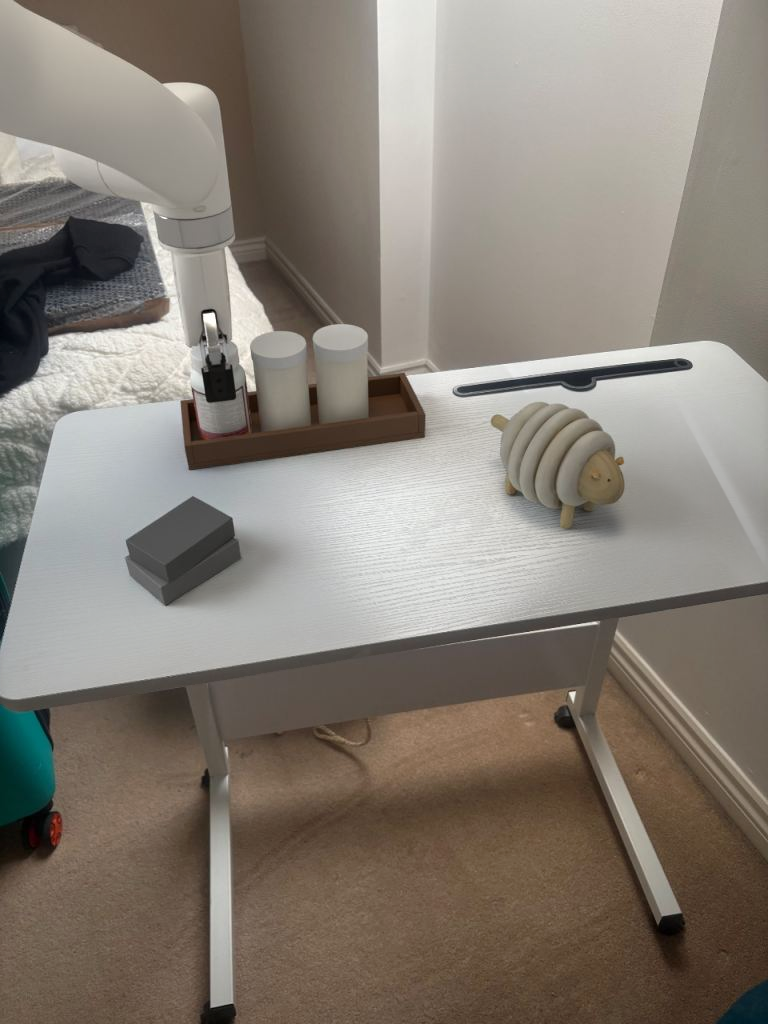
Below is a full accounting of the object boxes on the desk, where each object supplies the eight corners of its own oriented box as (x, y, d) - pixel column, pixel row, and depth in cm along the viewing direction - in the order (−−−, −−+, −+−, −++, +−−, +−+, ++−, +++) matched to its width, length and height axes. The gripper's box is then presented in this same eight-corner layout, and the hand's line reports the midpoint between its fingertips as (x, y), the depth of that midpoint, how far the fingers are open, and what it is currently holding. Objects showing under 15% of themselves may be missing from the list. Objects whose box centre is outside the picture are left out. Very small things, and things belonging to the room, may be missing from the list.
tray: (188, 470, 93) (184, 446, 91) (184, 423, 101) (180, 400, 99) (424, 437, 98) (425, 413, 96) (404, 395, 106) (404, 372, 104)
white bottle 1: (270, 447, 96) (261, 362, 88) (252, 420, 100) (242, 338, 93) (320, 433, 98) (314, 349, 91) (300, 408, 102) (293, 326, 95)
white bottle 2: (330, 438, 97) (325, 354, 90) (310, 413, 101) (304, 330, 94) (378, 425, 99) (377, 342, 92) (356, 400, 103) (353, 319, 96)
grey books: (166, 607, 77) (157, 569, 74) (128, 574, 80) (117, 537, 77) (243, 558, 82) (238, 521, 79) (204, 529, 86) (197, 492, 83)
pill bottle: (215, 417, 100) (202, 332, 93) (261, 426, 99) (251, 340, 92) (190, 444, 96) (174, 357, 89) (238, 454, 94) (225, 367, 87)
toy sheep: (584, 559, 82) (603, 469, 75) (454, 487, 91) (459, 400, 84) (640, 510, 88) (662, 422, 81) (512, 446, 97) (522, 362, 90)
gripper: (154, 198, 87) (180, 346, 98) (158, 263, 74) (188, 424, 85) (225, 193, 89) (243, 339, 100) (242, 255, 76) (260, 415, 87)
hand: (218, 378), depth 93 cm, fingers open, 8 cm apart
